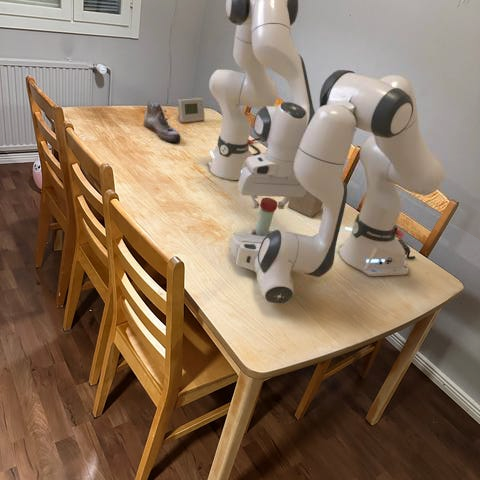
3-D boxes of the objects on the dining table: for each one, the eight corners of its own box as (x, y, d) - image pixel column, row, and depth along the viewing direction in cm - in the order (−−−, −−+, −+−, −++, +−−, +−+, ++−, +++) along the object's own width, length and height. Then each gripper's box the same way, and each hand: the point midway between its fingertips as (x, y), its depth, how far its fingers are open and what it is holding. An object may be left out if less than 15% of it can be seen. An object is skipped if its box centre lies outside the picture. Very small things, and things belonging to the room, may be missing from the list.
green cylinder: (249, 249, 135) (260, 204, 126) (253, 243, 138) (264, 199, 130) (261, 254, 134) (273, 209, 126) (265, 247, 137) (277, 203, 129)
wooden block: (310, 217, 160) (327, 167, 149) (286, 207, 163) (301, 157, 153) (321, 209, 167) (337, 160, 157) (298, 198, 171) (312, 150, 160)
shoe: (184, 144, 195) (187, 117, 189) (160, 144, 190) (163, 116, 183) (163, 123, 212) (165, 98, 206) (141, 123, 207) (143, 97, 200)
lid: (276, 213, 126) (278, 207, 125) (260, 209, 126) (261, 204, 125) (275, 205, 131) (277, 199, 130) (259, 202, 130) (261, 196, 129)
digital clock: (179, 123, 216) (182, 102, 211) (171, 117, 222) (173, 96, 216) (207, 123, 225) (211, 102, 220) (199, 116, 231) (202, 96, 225)
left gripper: (308, 161, 127) (295, 203, 134) (241, 157, 120) (232, 201, 127) (317, 171, 122) (303, 214, 129) (248, 167, 115) (238, 212, 122)
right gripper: (306, 253, 123) (295, 226, 134) (235, 246, 119) (230, 219, 130) (300, 270, 126) (290, 243, 138) (231, 264, 122) (226, 237, 133)
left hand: (267, 207), depth 128 cm, fingers open, 7 cm apart
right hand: (260, 231), depth 134 cm, fingers closed on green cylinder, 4 cm apart
